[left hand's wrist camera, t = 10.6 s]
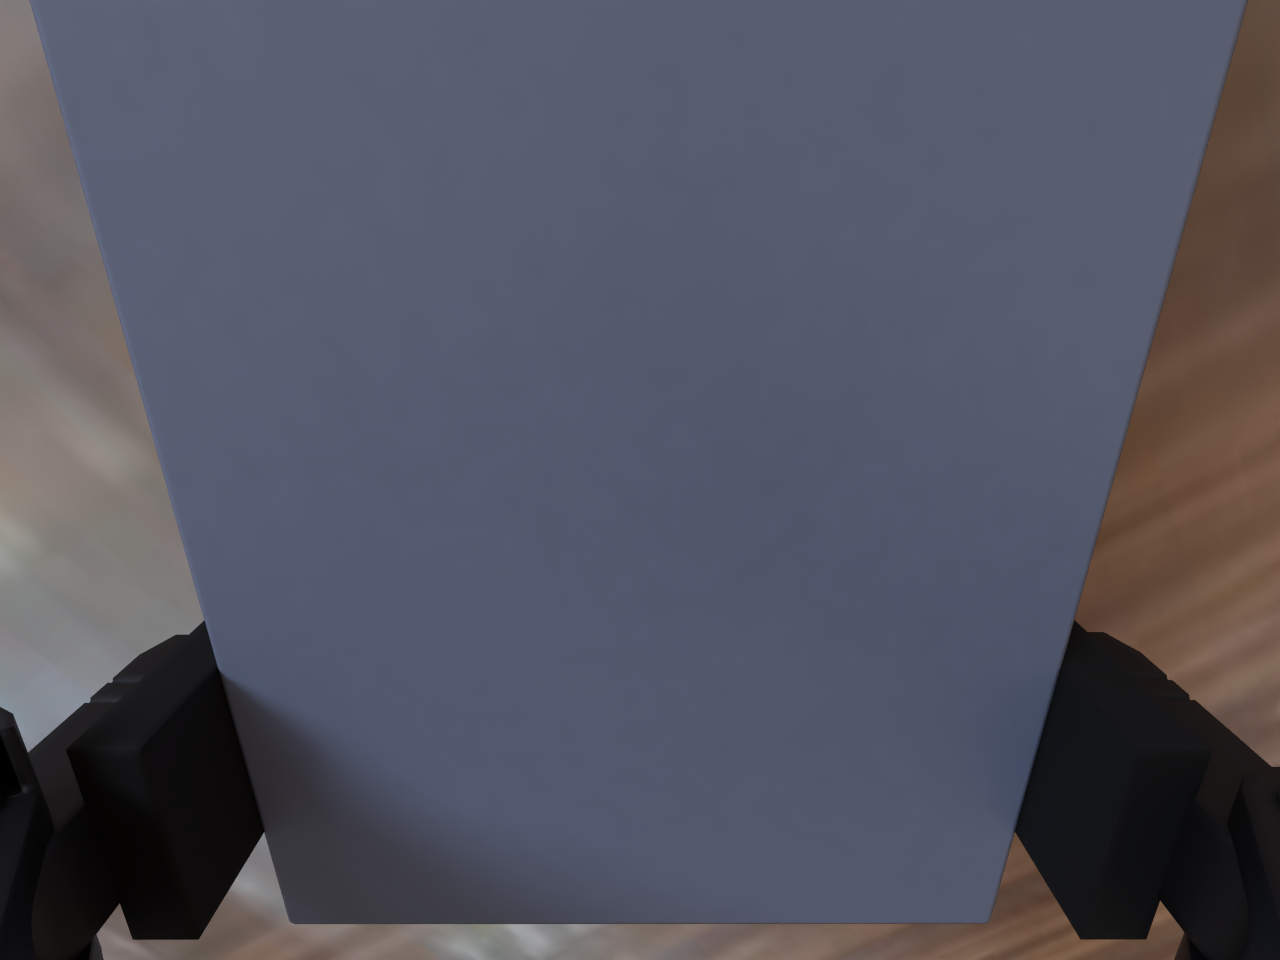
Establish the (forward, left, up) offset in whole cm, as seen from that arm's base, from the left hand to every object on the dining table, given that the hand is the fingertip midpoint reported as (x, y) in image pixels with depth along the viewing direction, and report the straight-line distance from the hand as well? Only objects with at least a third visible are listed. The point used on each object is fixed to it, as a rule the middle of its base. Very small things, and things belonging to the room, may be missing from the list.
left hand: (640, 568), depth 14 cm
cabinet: (+7, -3, -4) cm, 9 cm away
